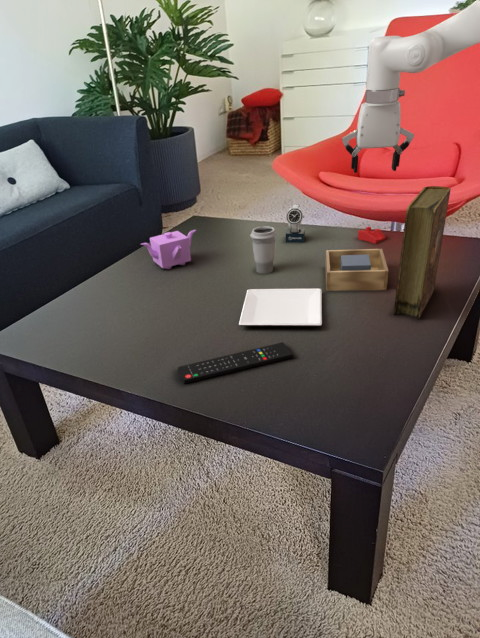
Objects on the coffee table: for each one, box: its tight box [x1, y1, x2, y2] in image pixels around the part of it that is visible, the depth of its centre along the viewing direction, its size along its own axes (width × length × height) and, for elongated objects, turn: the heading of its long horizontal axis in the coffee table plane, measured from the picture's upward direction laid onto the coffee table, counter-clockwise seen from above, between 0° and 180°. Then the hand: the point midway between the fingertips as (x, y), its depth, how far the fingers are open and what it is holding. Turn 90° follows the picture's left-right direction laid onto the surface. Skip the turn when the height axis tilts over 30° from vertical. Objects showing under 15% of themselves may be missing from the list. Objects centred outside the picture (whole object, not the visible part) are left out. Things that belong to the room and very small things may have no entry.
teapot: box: [140, 229, 197, 270], centre depth 156 cm, size 18×13×10 cm
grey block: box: [340, 255, 371, 271], centre depth 136 cm, size 7×7×5 cm
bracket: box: [357, 225, 387, 245], centre depth 159 cm, size 6×5×3 cm
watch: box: [285, 204, 306, 244], centre depth 162 cm, size 6×8×11 cm
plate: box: [238, 288, 323, 327], centre depth 126 cm, size 19×19×2 cm
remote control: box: [177, 341, 294, 384], centre depth 109 cm, size 5×24×1 cm, turn 106°
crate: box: [324, 248, 390, 292], centre depth 136 cm, size 15×15×6 cm
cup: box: [249, 225, 277, 275], centre depth 145 cm, size 7×7×12 cm
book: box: [393, 185, 452, 320], centre depth 117 cm, size 16×6×25 cm, turn 148°
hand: (374, 170), depth 136 cm, fingers open, 9 cm apart
